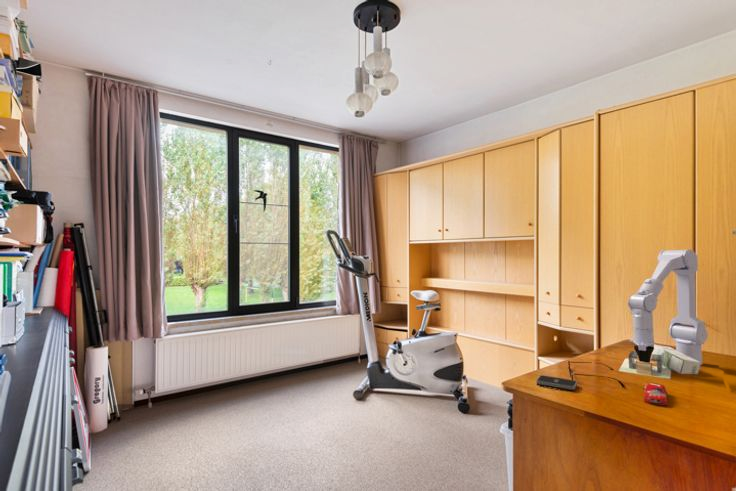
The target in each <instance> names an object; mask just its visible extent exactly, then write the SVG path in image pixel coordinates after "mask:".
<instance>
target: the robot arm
mask: <svg viewBox="0 0 736 491" xmlns="http://www.w3.org/2000/svg"><path fill="white" fill-rule="evenodd" d="M698 260H699V259H698V255H697V253H696V252H695V251H694V250H693V249H673V250H672V249H671V250H669V249H668V250H667V249H663V250H660V252H659V253H658V255H657V262H658V264H657V265H656V268H655V270H654V271H653V273H652V275H651V277H650V278H647V279H645V280H644V282H643V283H642V284H641V286H640V287H639V288H638V291H637V292H636V293H635V294H632V295H631V296H630V297H629V298H628V301H627V306H628V308H629V311H630V313H631V315H632V325H633V326H632V327H633V328H632V330H633V331H632V332H633V338H630V339H629V342H631V343H634V344H635V345H633V349H634V352H636V353H637V355H638V358H637V359H638V360H639V361H641V362H649V363H651V357H652V352H653V350H654V344H655V345H656V342H655V340H654V337H655V336H654V335H655V334H654V320H653V317H654V316H653V312H654V311H655V310H656V308H657V303H658V297H659V295H660V294H661V292H662V291H663V289H664V284H663V282H664V281H665V280H666V279H667V277H669V275H670V274H671V272H673V273H675V275H676V289H677V290H676V292H677V293H676V294H677V298H676V299H677V302H676V303H677V316H675V317H673V318H672V319H670V326H669V327H668V332H669V333H668V334H669V335H670V337H671V339H672V340H673V342H675V350H677V351H678V352H680V353H682V354H684V355H686V356H688V357H690V358H693V359H695V360H697V361H699V362H701V364H700V366H702V365H703V353H702V345H704V343H705V342H706V341H707V339H708V337H709V336H708V331H707V327H706V323H705V322H704V321H702V320H701V319H700V318H699V317H697V316H696V315H697V314H696V312H697V311H696V309H697V308H696V304H697V303H696V272H697V271H698V269H699V268H698V266H699V264H698V262H699V261H698Z"/></svg>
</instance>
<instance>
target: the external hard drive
mask: <svg viewBox="0 0 736 491" xmlns="http://www.w3.org/2000/svg"><path fill="white" fill-rule="evenodd" d="M537 385H540V386H539V387H542V386H546V387H545V388H548V387H551V388H550V389H553V388H556V389H555V390H559V389H560V391H564V390H566V392H571V393H575V390H577V387H578V381H577V380H574V379H573V380H572V379H567V378H561V377H555V376H549V375H542V374H541V375H539V376H538V377H537V379H536V386H537Z"/></svg>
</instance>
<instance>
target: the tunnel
mask: <svg viewBox="0 0 736 491" xmlns="http://www.w3.org/2000/svg"><path fill="white" fill-rule="evenodd" d="M651 357H652V358H651ZM651 357H650V361H651V362H657V363H656V367H657V372H659V373H661V371H662V355H657V354H653V355H652V354H651ZM628 359H629V368H632V369H633V366H634V364H636V362H635V360H636V359H639V358H638V355H637V353H636V351H629V353H628Z"/></svg>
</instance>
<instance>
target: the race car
mask: <svg viewBox="0 0 736 491" xmlns="http://www.w3.org/2000/svg"><path fill="white" fill-rule="evenodd" d="M643 390H644V394H643V397H644V402H645V403H648V404H652V405H659V406H666V407H667V406H668V397H667V394H668V391H667V389H666V387H665V385H664V384H660V383H655V382H647V383H646V385H645V386H644V388H643Z"/></svg>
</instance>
